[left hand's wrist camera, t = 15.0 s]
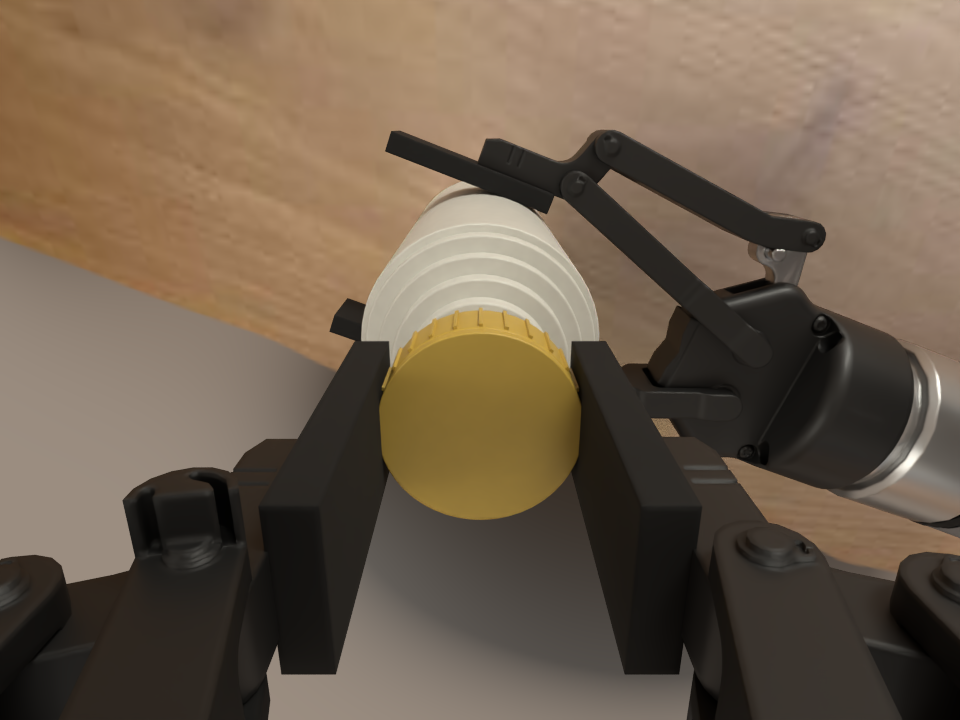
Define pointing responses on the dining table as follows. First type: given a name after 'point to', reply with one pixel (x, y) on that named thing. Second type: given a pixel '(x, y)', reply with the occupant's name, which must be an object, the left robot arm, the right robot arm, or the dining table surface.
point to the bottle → (479, 272)
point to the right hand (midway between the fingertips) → (365, 231)
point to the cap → (480, 415)
